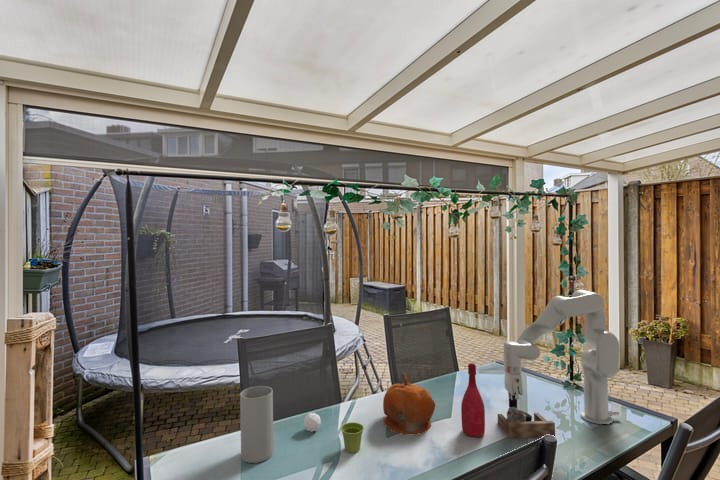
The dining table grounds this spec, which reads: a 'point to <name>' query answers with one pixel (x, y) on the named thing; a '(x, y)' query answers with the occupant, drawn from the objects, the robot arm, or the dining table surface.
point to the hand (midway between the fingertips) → (513, 407)
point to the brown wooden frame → (527, 427)
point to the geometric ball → (312, 422)
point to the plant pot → (352, 436)
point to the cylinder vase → (256, 424)
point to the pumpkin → (408, 408)
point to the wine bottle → (473, 407)
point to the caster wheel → (517, 415)
